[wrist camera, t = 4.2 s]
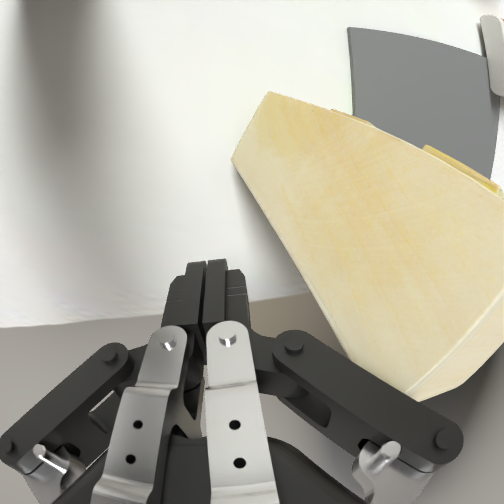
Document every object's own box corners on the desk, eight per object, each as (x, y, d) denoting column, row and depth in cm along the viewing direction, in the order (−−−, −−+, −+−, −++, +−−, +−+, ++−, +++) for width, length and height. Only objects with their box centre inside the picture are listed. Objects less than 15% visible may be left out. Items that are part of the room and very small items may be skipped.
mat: (347, 27, 18) (349, 27, 17) (496, 62, 18) (500, 63, 17) (350, 227, 30) (352, 230, 29) (479, 211, 29) (482, 213, 29)
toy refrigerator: (345, 127, 24) (556, 275, 7) (305, 193, 27) (457, 389, 10) (272, 81, 20) (555, 203, 3) (229, 159, 23) (368, 419, 7)
